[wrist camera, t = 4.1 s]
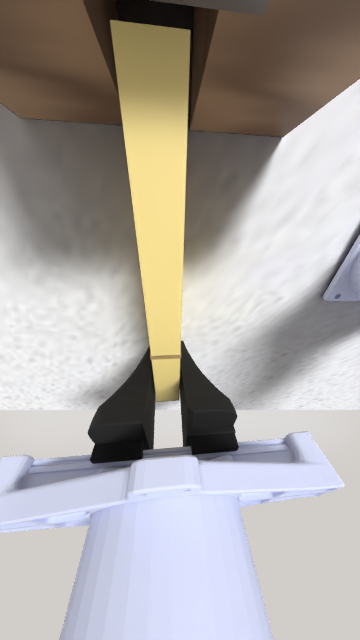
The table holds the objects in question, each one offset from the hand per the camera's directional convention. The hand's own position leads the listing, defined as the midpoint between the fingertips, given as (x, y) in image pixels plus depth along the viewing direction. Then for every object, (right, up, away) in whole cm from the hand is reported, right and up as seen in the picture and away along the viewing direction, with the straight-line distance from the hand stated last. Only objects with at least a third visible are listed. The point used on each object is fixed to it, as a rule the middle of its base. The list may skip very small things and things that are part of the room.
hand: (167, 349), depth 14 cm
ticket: (0, +6, -2) cm, 6 cm away
